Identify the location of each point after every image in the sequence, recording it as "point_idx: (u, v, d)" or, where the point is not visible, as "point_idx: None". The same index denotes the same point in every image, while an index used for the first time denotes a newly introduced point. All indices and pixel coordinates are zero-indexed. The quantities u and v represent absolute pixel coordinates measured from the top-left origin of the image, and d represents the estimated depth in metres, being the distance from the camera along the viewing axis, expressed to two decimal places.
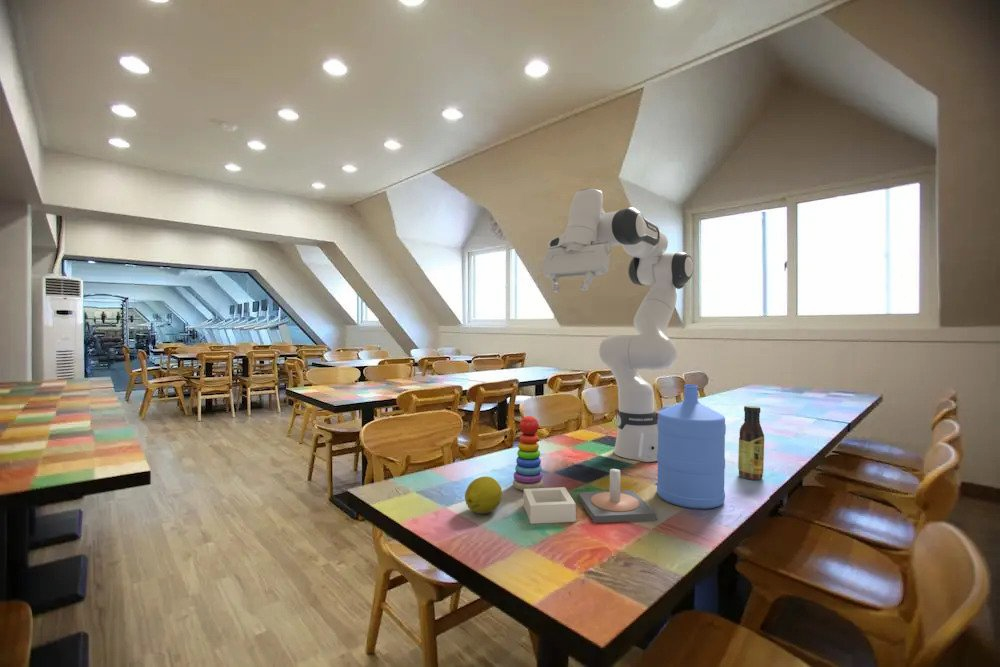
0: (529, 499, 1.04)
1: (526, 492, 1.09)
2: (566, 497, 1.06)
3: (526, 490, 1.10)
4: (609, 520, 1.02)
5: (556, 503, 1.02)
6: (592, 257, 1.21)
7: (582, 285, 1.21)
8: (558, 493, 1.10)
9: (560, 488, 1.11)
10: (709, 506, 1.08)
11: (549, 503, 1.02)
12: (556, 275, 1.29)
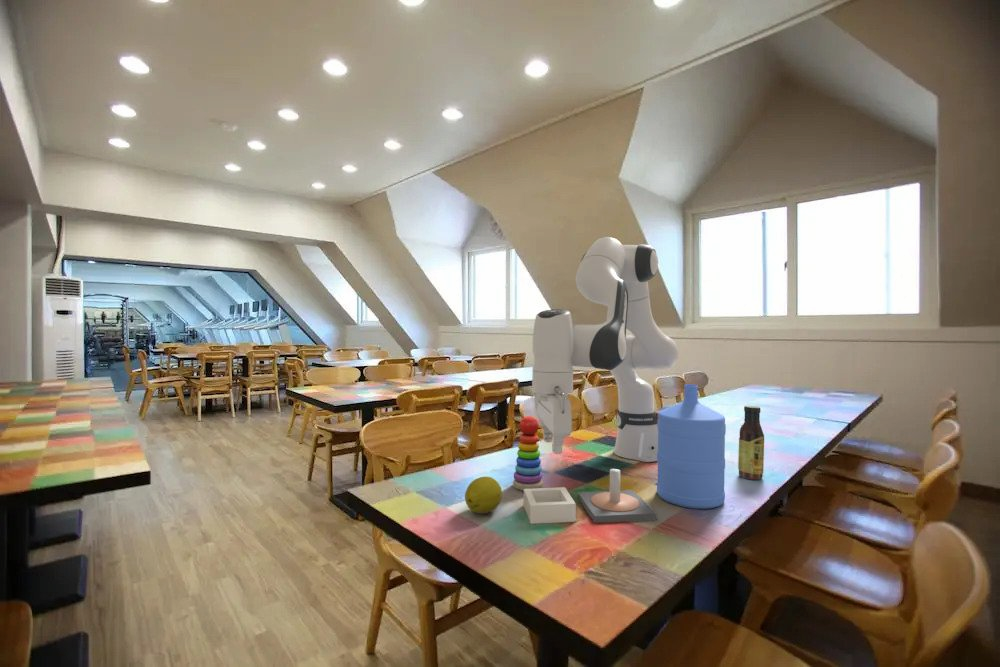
0: (529, 499, 1.04)
1: (526, 492, 1.09)
2: (566, 497, 1.06)
3: (526, 490, 1.10)
4: (609, 520, 1.02)
5: (556, 503, 1.02)
6: (550, 415, 0.95)
7: (552, 448, 0.97)
8: (558, 493, 1.10)
9: (560, 488, 1.11)
10: (709, 506, 1.08)
11: (549, 503, 1.02)
12: None
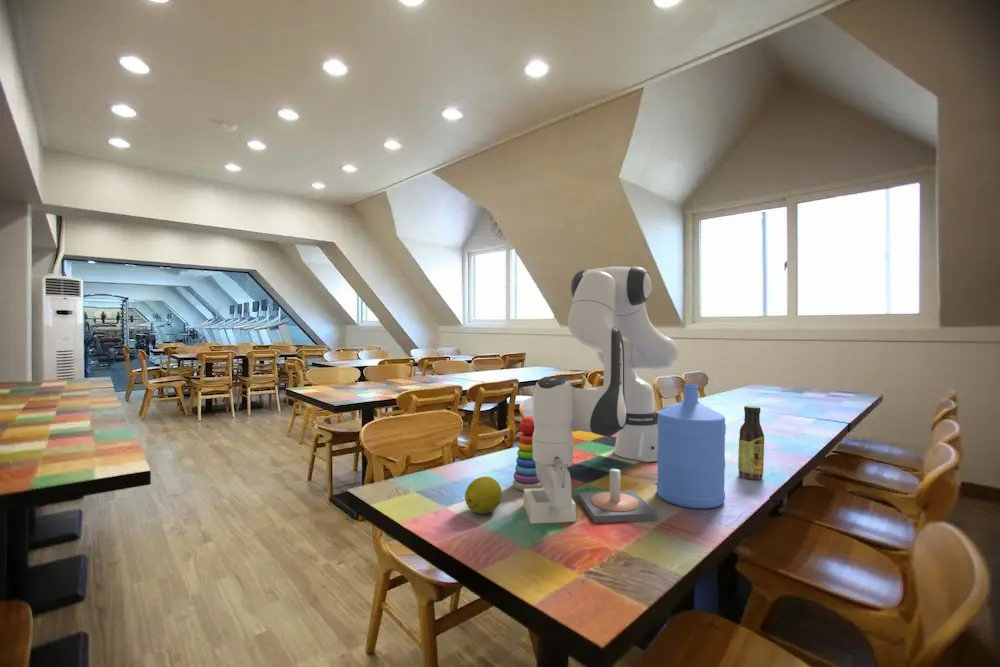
0: (529, 499, 1.04)
1: (526, 492, 1.09)
2: None
3: (526, 490, 1.10)
4: (609, 520, 1.02)
5: None
6: (551, 487, 0.95)
7: (549, 512, 1.01)
8: None
9: None
10: (709, 506, 1.08)
11: (549, 503, 1.02)
12: None
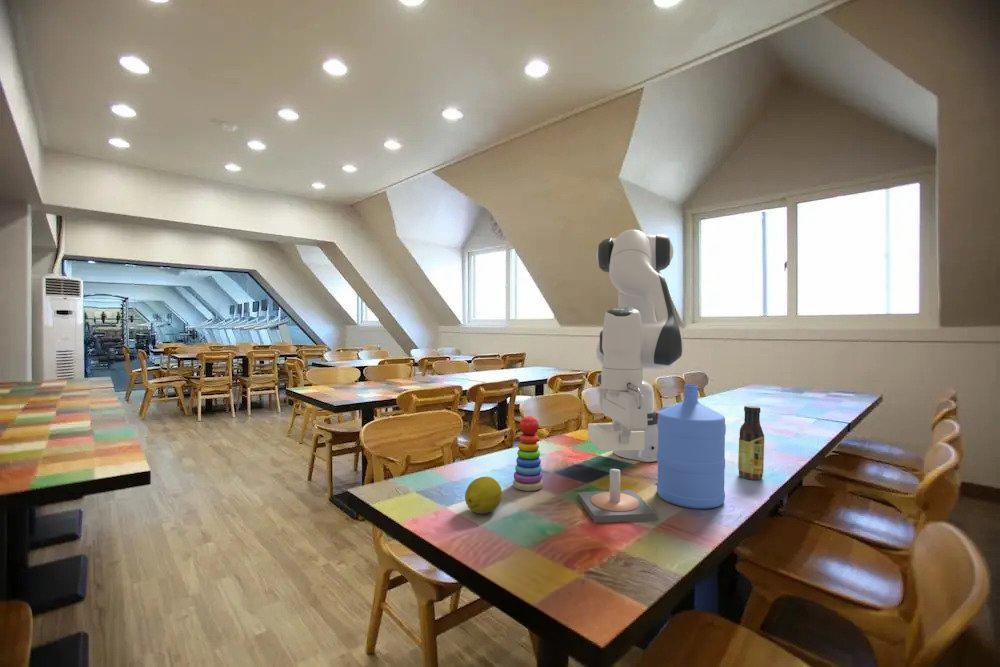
0: (597, 429, 1.07)
1: (592, 425, 1.11)
2: None
3: (591, 424, 1.12)
4: (609, 520, 1.02)
5: None
6: (625, 411, 0.97)
7: (620, 439, 1.03)
8: None
9: None
10: (709, 506, 1.08)
11: (618, 431, 1.04)
12: None
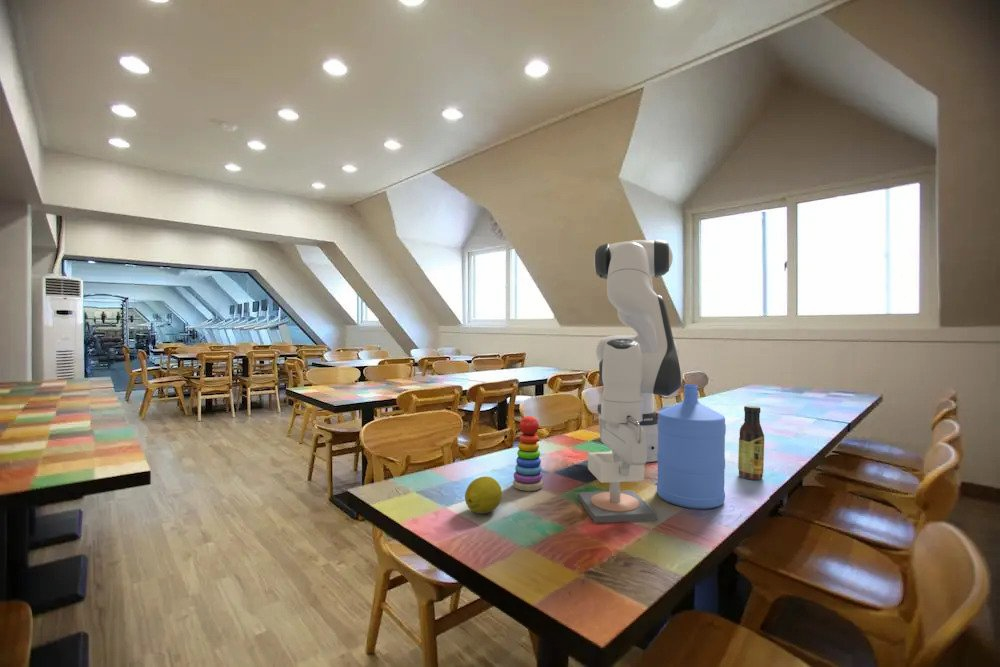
0: (597, 460, 1.07)
1: (591, 455, 1.11)
2: None
3: (591, 453, 1.12)
4: (609, 520, 1.02)
5: None
6: (624, 444, 0.98)
7: (619, 471, 1.03)
8: None
9: None
10: (709, 506, 1.08)
11: (618, 463, 1.04)
12: None
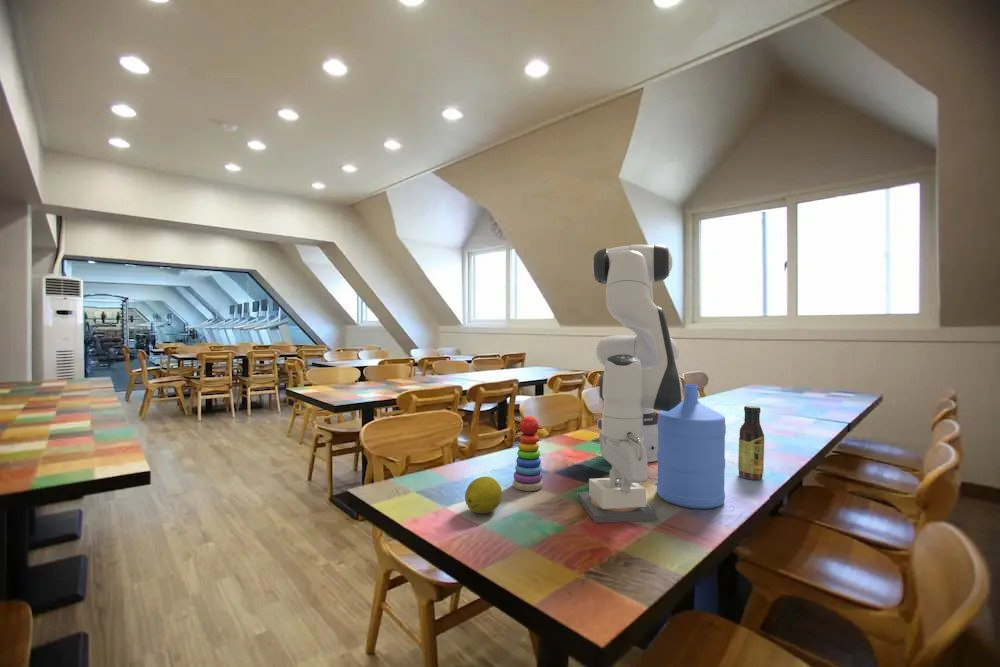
0: (598, 486, 1.06)
1: (593, 481, 1.10)
2: (634, 484, 1.07)
3: (592, 479, 1.12)
4: (609, 520, 1.02)
5: None
6: (625, 461, 0.98)
7: (621, 488, 1.03)
8: None
9: None
10: (709, 506, 1.08)
11: (619, 488, 1.04)
12: None
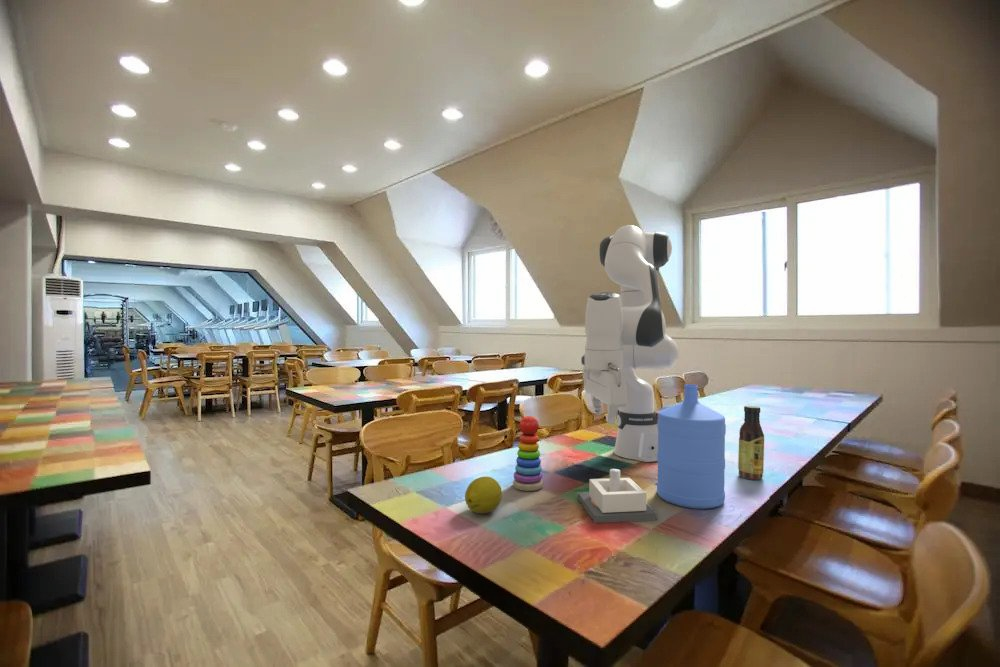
0: (599, 489, 1.06)
1: (593, 482, 1.10)
2: (634, 487, 1.07)
3: (592, 480, 1.11)
4: (609, 520, 1.02)
5: (627, 492, 1.04)
6: (606, 389, 1.04)
7: (606, 419, 1.07)
8: (624, 483, 1.12)
9: (625, 478, 1.13)
10: (709, 506, 1.08)
11: (620, 492, 1.04)
12: None
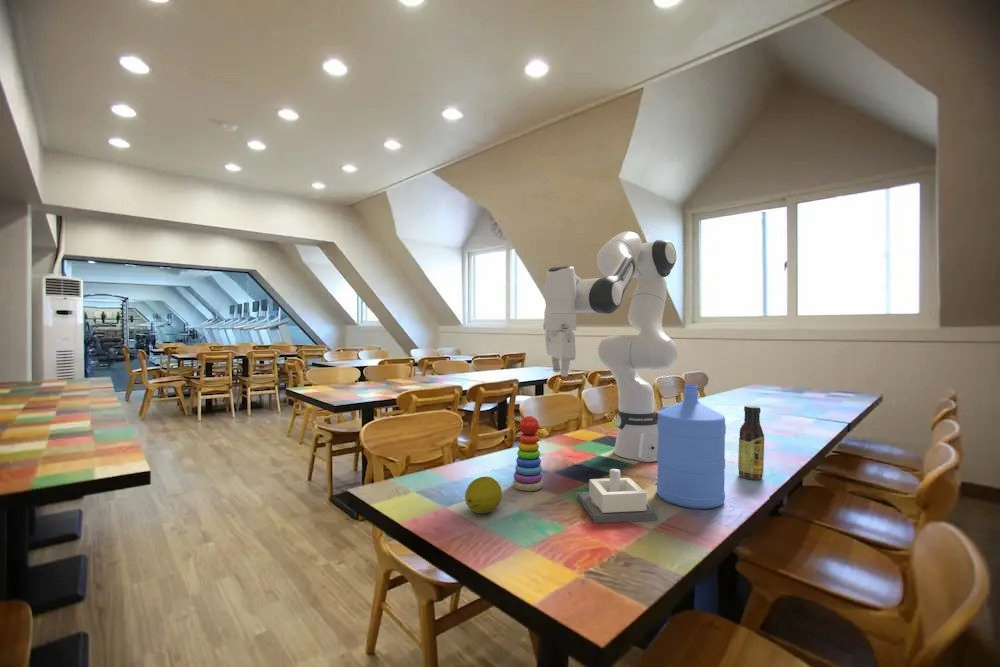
0: (599, 489, 1.06)
1: (593, 482, 1.10)
2: (634, 487, 1.07)
3: (592, 480, 1.11)
4: (609, 520, 1.02)
5: (627, 492, 1.04)
6: (559, 346, 1.22)
7: (560, 372, 1.25)
8: (624, 483, 1.12)
9: (625, 478, 1.13)
10: (709, 506, 1.08)
11: (620, 492, 1.04)
12: (554, 356, 1.34)
